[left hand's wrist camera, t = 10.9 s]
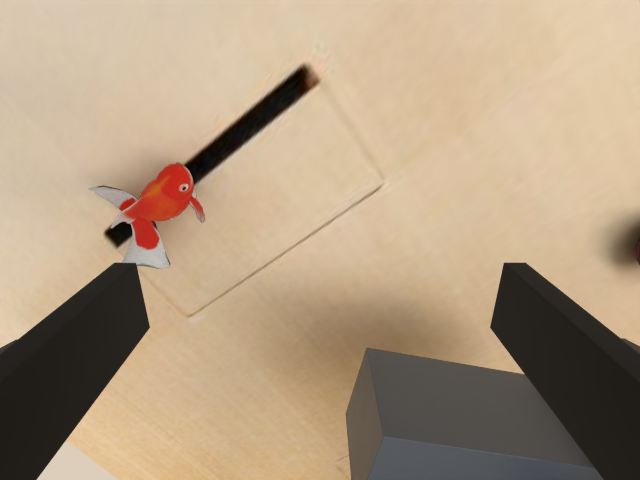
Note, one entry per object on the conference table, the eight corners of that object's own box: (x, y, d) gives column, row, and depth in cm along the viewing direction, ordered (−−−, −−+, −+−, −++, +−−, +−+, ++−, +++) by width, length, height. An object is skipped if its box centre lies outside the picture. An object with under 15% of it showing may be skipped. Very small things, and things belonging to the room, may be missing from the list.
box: (345, 413, 37) (354, 513, 28) (366, 347, 34) (383, 436, 25) (550, 445, 39) (619, 548, 30) (588, 385, 35) (678, 480, 27)
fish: (248, 234, 39) (169, 259, 31) (174, 268, 48) (97, 295, 40) (211, 143, 39) (121, 144, 30) (143, 195, 48) (59, 207, 39)
